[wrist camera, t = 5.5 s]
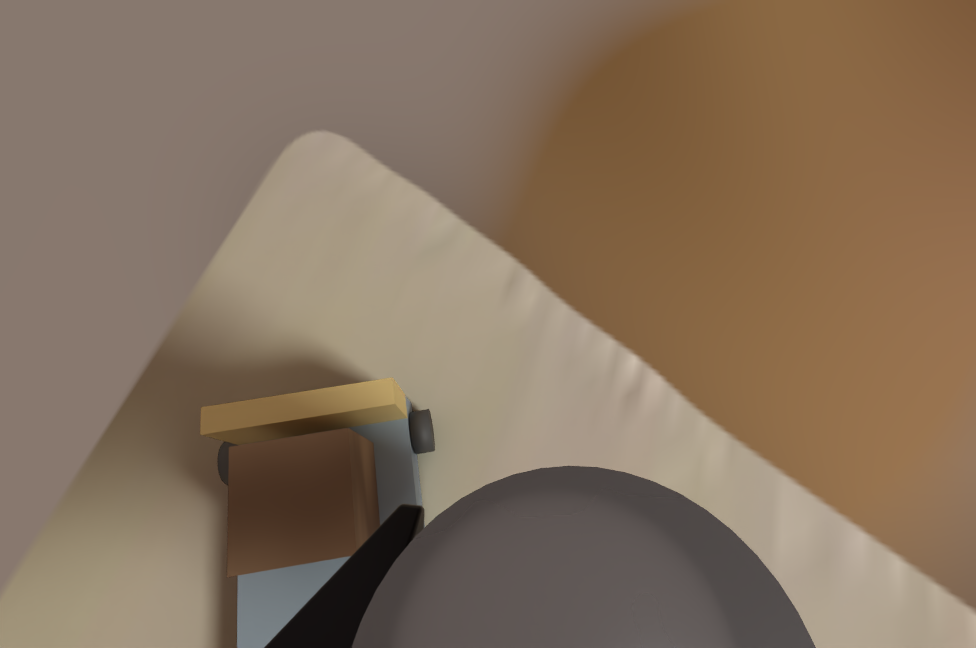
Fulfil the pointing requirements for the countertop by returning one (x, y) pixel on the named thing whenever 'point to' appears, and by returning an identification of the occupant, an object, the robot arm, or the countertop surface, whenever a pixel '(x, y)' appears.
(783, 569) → the countertop surface
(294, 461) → the collected block
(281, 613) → the cart
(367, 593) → the robot arm
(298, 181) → the countertop surface
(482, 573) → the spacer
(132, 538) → the countertop surface
